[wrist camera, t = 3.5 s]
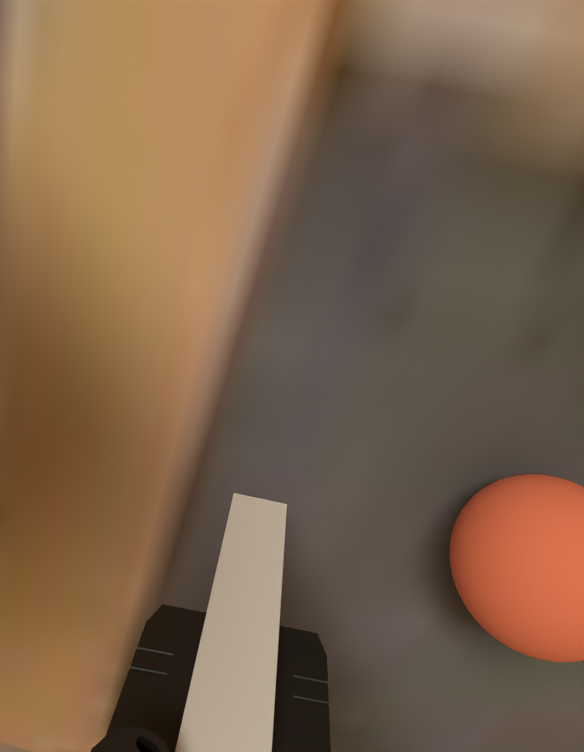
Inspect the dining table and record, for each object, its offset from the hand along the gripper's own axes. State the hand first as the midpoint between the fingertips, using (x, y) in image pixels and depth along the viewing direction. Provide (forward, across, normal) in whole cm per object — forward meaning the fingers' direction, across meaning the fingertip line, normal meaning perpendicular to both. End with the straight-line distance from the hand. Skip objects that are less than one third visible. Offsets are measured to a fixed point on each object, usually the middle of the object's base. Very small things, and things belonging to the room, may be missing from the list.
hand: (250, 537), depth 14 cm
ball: (+1, +9, 0) cm, 9 cm away
